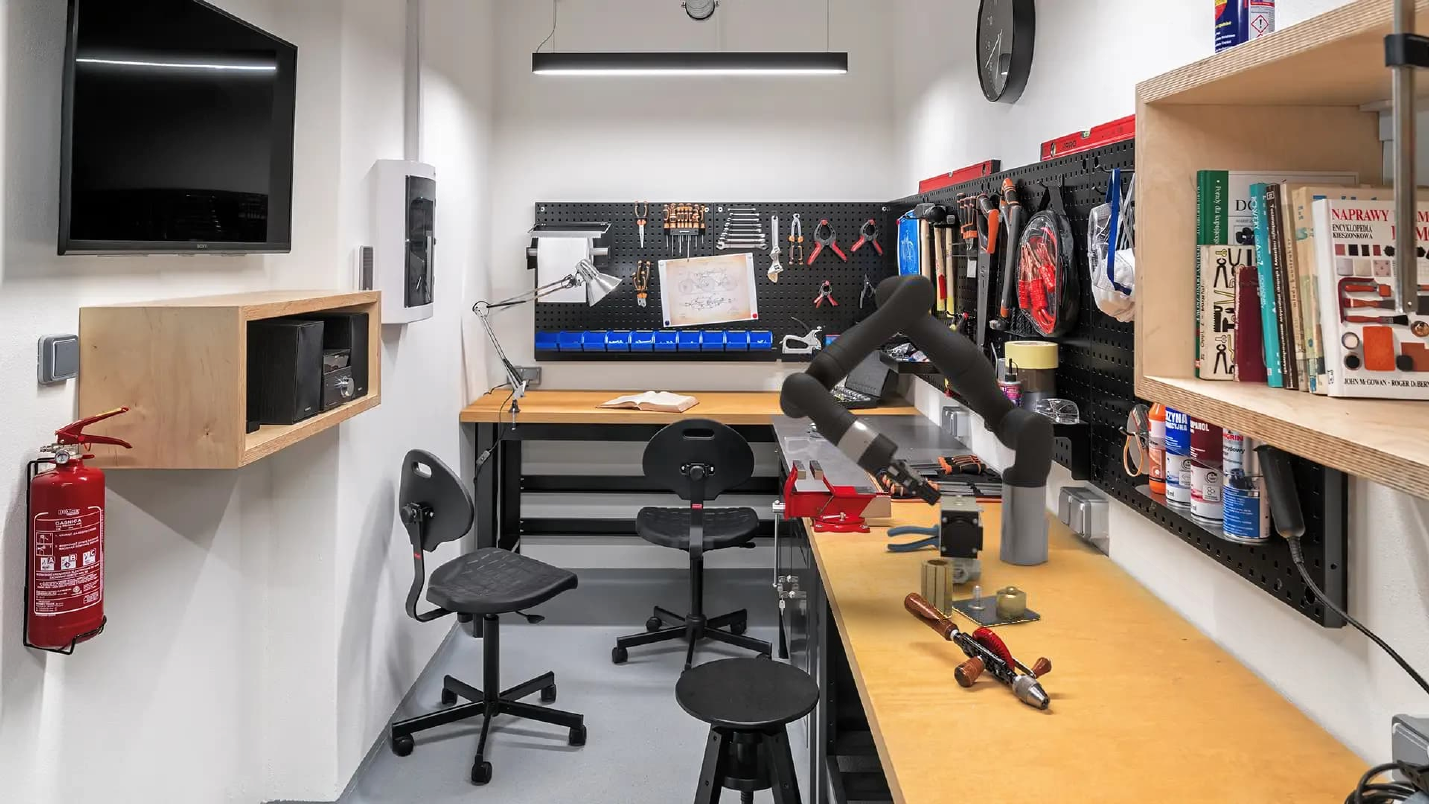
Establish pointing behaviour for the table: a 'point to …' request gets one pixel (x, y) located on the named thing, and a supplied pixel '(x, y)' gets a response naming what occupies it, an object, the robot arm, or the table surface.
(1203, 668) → the table surface
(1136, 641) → the table surface
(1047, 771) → the table surface
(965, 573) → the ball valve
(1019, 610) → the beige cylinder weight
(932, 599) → the brass grooved sleeve
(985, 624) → the carrier plate
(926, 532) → the pliers
